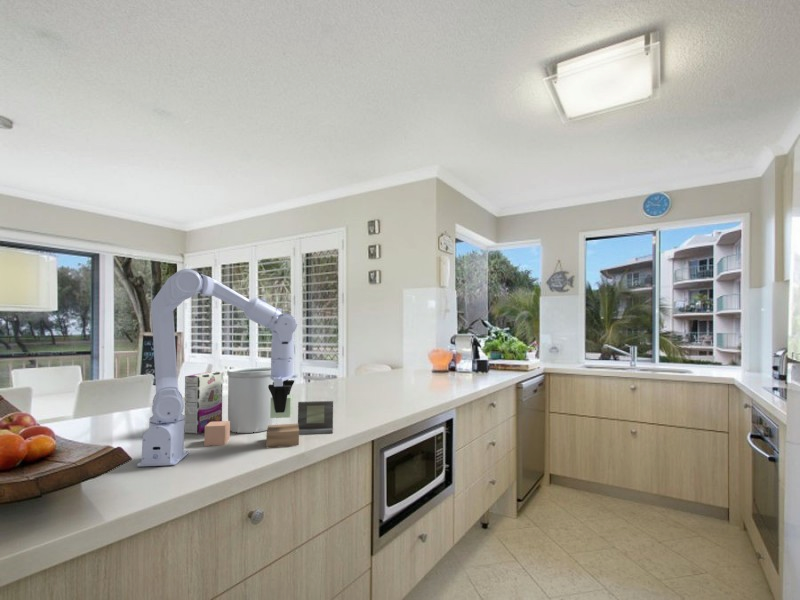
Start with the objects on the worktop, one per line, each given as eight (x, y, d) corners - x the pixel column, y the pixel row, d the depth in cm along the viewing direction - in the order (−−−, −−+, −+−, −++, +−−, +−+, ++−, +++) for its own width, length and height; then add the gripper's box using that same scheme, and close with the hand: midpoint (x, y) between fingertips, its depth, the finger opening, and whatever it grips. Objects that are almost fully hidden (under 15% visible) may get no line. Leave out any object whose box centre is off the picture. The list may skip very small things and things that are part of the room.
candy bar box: (208, 424, 128) (209, 370, 129) (222, 425, 127) (224, 371, 128) (182, 433, 117) (184, 375, 118) (197, 434, 116) (199, 375, 117)
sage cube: (290, 417, 107) (290, 398, 107) (270, 418, 106) (270, 398, 106) (292, 413, 112) (292, 394, 112) (273, 413, 111) (273, 395, 111)
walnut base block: (298, 446, 106) (299, 430, 107) (266, 448, 104) (266, 432, 104) (297, 438, 114) (298, 423, 114) (267, 440, 112) (267, 425, 112)
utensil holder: (217, 427, 124) (219, 368, 125) (263, 419, 135) (265, 365, 136) (238, 437, 114) (240, 373, 115) (287, 427, 124) (288, 369, 125)
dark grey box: (332, 433, 118) (333, 403, 119) (296, 434, 117) (297, 404, 117) (332, 428, 124) (333, 399, 124) (298, 429, 122) (299, 400, 123)
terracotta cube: (224, 445, 107) (225, 425, 107) (204, 446, 106) (204, 426, 106) (229, 439, 111) (230, 421, 112) (209, 440, 111) (210, 421, 111)
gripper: (294, 360, 103) (294, 415, 103) (300, 355, 118) (299, 404, 117) (265, 361, 102) (264, 416, 101) (274, 356, 117) (273, 404, 116)
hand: (281, 410), depth 109 cm, fingers closed on sage cube, 5 cm apart
